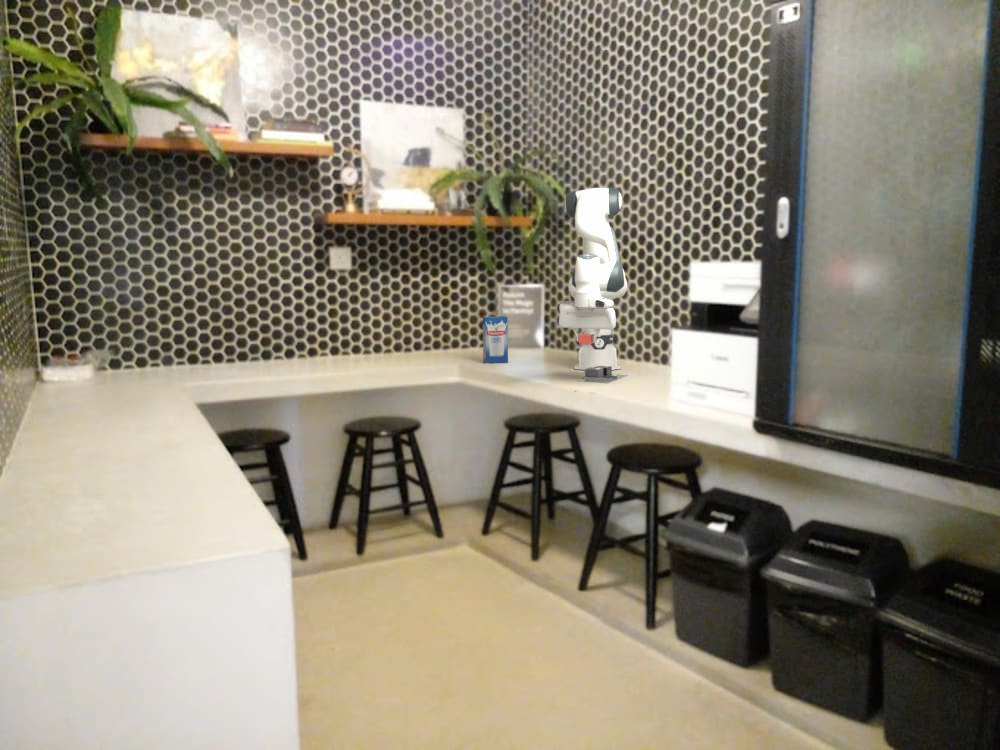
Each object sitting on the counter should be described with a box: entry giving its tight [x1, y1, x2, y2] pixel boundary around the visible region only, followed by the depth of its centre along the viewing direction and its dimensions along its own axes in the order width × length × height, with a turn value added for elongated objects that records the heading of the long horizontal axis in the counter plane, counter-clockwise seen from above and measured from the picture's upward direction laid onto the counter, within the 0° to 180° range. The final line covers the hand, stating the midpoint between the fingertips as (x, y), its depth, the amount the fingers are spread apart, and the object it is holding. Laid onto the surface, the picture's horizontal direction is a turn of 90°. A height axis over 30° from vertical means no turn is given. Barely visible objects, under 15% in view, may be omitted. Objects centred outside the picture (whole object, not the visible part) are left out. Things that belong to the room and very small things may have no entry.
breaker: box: [584, 367, 603, 378], centre depth 268 cm, size 5×5×4 cm
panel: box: [576, 366, 629, 384], centre depth 270 cm, size 22×12×5 cm, turn 151°
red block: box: [578, 333, 594, 345], centre depth 261 cm, size 4×4×3 cm
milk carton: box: [482, 315, 509, 364], centre depth 329 cm, size 10×6×20 cm, turn 101°
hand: (586, 341), depth 261 cm, fingers closed on red block, 4 cm apart
